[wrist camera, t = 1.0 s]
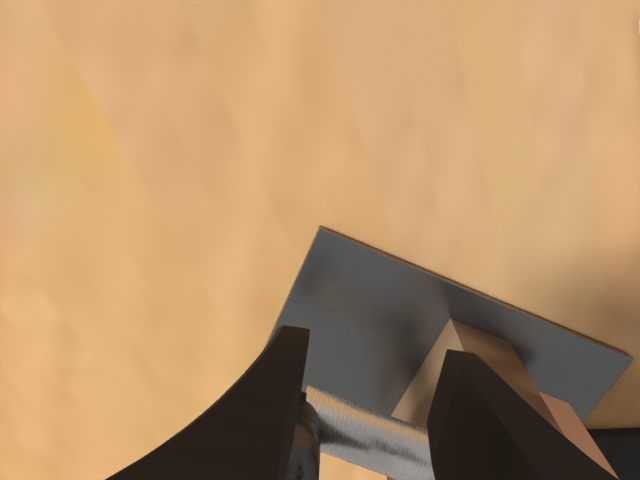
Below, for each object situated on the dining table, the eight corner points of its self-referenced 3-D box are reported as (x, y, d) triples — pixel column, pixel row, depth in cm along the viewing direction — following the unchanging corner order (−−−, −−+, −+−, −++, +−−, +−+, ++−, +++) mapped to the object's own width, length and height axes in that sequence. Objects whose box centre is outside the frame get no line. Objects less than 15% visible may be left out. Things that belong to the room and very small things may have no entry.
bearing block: (509, 342, 22) (587, 474, 15) (436, 450, 24) (473, 608, 17) (450, 317, 21) (502, 441, 15) (382, 430, 24) (398, 582, 17)
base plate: (628, 354, 22) (632, 359, 22) (513, 499, 26) (515, 505, 25) (320, 225, 21) (319, 229, 20) (241, 398, 24) (239, 404, 24)
